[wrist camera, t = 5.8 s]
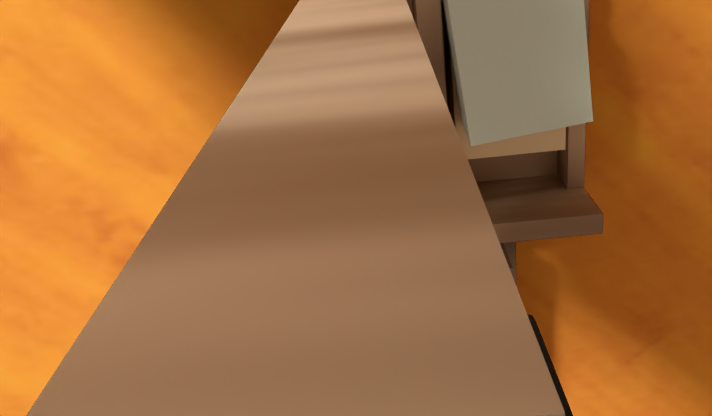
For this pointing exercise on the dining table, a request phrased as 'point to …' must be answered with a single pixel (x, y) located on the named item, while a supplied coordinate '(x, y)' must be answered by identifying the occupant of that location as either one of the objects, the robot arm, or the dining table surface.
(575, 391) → the dining table surface
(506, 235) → the tray
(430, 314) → the birch sheet
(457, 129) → the offcut lower
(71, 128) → the dining table surface
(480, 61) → the offcut upper
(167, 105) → the dining table surface
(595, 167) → the dining table surface
